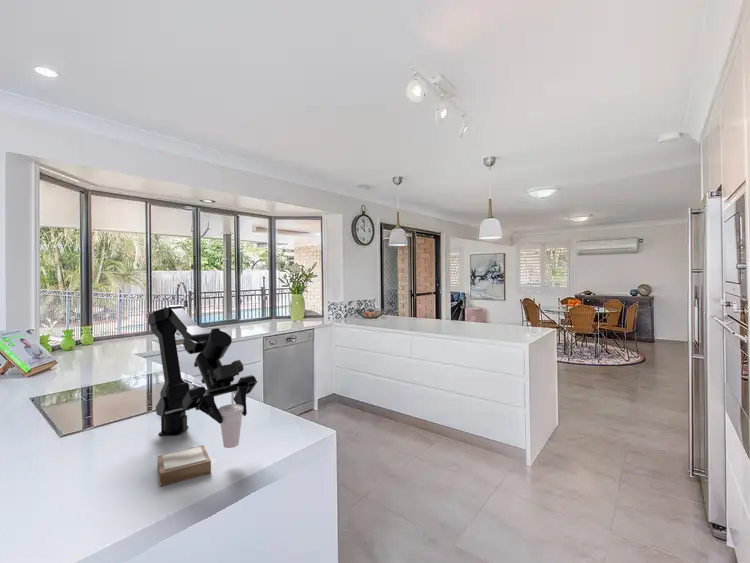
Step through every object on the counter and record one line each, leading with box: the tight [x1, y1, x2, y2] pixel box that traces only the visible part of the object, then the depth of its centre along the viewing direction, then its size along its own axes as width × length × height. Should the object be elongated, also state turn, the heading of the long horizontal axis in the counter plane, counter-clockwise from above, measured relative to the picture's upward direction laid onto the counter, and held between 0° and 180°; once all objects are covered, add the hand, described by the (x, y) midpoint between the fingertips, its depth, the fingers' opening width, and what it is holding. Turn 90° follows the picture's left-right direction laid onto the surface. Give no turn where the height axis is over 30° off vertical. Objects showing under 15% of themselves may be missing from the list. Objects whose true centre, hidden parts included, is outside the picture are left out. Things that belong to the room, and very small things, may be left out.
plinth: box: [157, 445, 212, 487], centre depth 97 cm, size 11×11×3 cm
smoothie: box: [218, 391, 244, 449], centre depth 100 cm, size 6×6×14 cm
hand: (233, 418), depth 99 cm, fingers closed on smoothie, 6 cm apart
